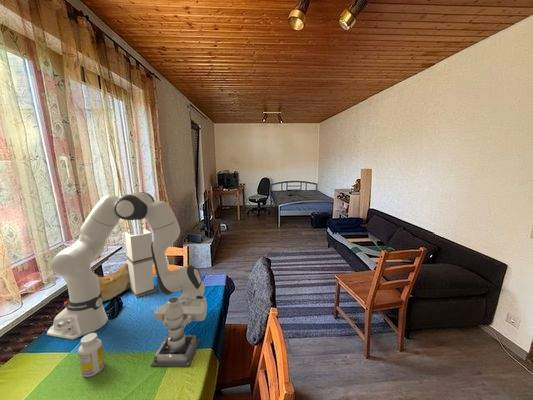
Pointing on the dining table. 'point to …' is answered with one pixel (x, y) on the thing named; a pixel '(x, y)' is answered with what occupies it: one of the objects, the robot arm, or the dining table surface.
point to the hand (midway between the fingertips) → (174, 325)
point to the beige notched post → (140, 263)
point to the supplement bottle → (91, 355)
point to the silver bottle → (175, 325)
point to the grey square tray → (176, 354)
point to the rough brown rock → (114, 283)
